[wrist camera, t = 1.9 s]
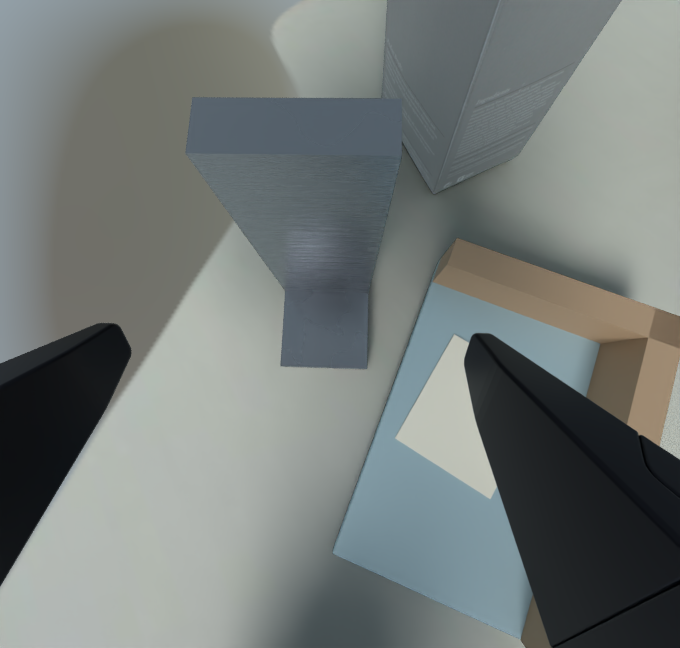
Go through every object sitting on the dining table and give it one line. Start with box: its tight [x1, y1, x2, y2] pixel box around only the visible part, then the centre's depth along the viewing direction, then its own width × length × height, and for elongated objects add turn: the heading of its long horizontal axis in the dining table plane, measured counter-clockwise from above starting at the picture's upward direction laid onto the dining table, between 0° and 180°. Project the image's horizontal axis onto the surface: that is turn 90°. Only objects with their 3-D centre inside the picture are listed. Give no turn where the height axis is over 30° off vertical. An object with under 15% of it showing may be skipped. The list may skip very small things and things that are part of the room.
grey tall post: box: [186, 97, 402, 369], centre depth 13 cm, size 6×5×13 cm
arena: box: [333, 238, 680, 648], centre depth 17 cm, size 18×12×4 cm, turn 158°
